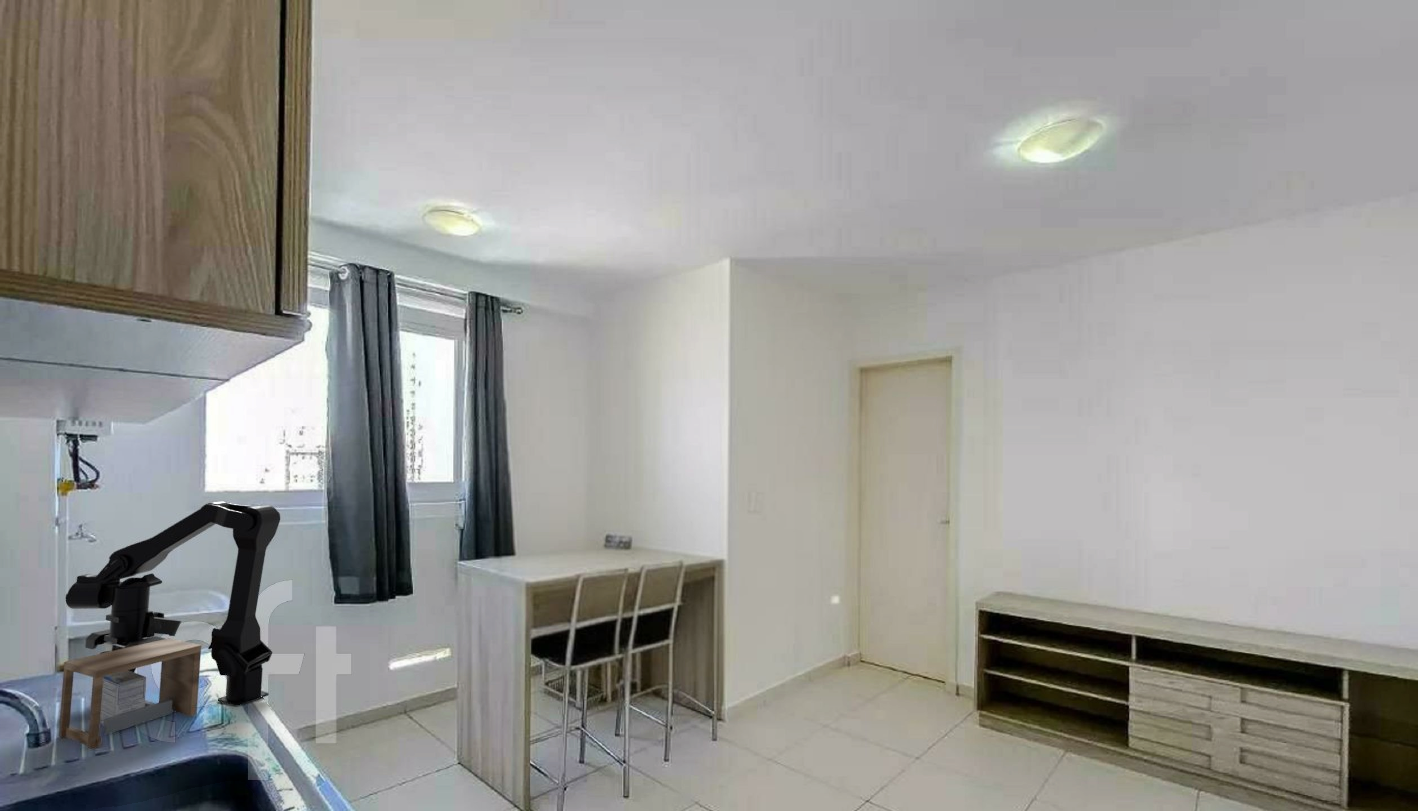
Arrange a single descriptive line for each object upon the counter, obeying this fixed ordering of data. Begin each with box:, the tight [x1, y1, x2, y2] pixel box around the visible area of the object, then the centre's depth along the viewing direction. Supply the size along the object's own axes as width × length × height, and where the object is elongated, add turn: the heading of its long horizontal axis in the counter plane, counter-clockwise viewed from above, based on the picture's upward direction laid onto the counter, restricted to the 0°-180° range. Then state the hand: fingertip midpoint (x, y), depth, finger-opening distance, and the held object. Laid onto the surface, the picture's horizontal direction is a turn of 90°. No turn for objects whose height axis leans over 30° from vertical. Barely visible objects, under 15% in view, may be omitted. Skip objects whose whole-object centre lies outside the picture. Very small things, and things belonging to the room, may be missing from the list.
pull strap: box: [102, 699, 174, 735], centre depth 123 cm, size 23×11×6 cm, turn 67°
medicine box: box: [100, 670, 147, 726], centre depth 119 cm, size 8×4×9 cm, turn 62°
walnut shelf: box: [58, 637, 202, 751], centre depth 118 cm, size 11×16×13 cm
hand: (124, 685), depth 129 cm, fingers closed
